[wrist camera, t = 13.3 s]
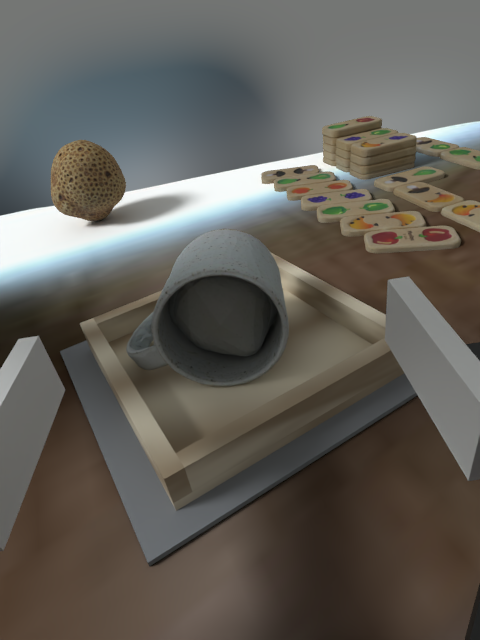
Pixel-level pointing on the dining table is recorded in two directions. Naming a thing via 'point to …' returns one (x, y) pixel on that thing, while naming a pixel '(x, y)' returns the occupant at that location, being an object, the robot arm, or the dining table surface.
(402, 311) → the robot arm
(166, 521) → the mat
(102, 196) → the natural sponge
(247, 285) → the ceramic mug
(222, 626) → the dining table surface
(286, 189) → the pile of dominoes
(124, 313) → the tray
